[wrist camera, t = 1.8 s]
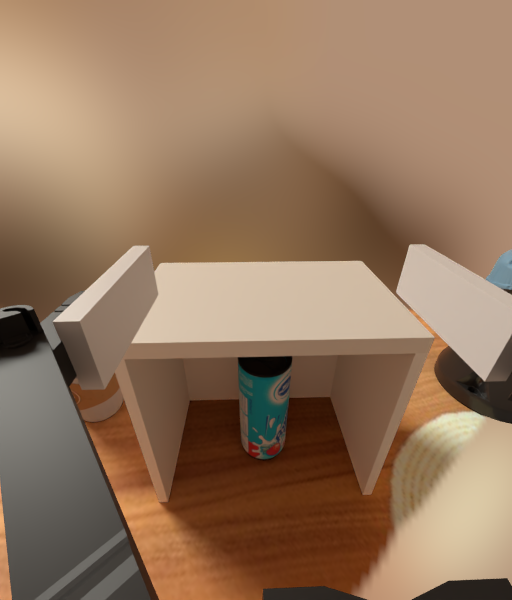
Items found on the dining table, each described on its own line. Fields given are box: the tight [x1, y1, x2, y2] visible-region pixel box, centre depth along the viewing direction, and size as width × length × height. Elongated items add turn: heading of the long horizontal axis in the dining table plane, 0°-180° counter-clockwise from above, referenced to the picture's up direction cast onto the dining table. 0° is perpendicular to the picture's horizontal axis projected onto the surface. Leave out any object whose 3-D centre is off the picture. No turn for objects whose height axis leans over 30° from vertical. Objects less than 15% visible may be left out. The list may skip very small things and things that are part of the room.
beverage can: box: [238, 356, 292, 460], centre depth 34 cm, size 6×6×15 cm
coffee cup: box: [69, 372, 124, 422], centre depth 39 cm, size 8×8×15 cm
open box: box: [115, 261, 435, 502], centre depth 32 cm, size 24×15×22 cm, turn 92°
